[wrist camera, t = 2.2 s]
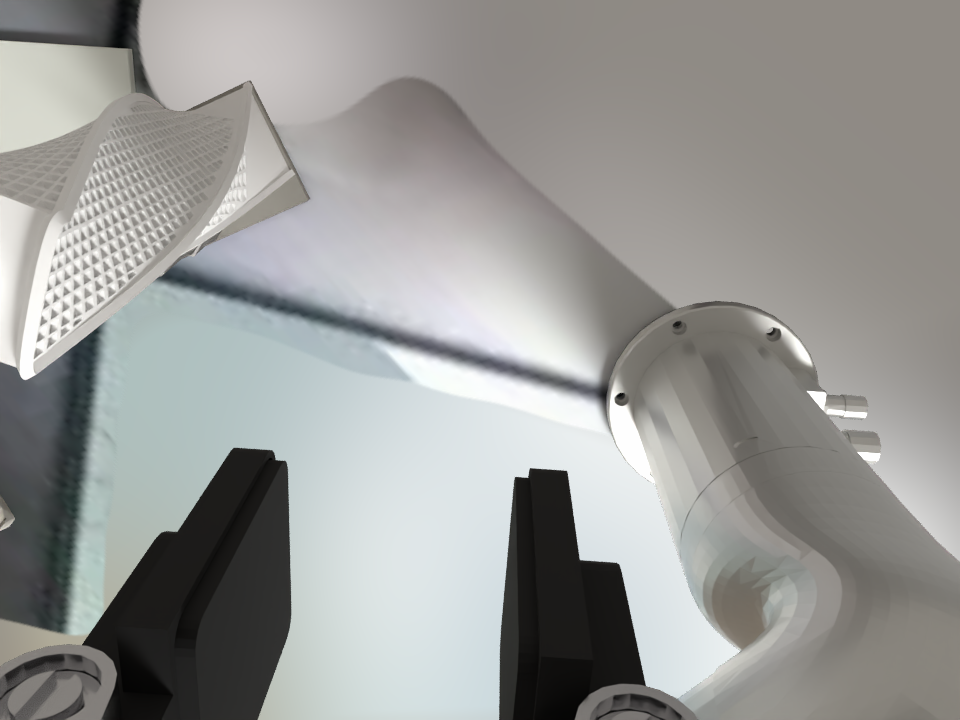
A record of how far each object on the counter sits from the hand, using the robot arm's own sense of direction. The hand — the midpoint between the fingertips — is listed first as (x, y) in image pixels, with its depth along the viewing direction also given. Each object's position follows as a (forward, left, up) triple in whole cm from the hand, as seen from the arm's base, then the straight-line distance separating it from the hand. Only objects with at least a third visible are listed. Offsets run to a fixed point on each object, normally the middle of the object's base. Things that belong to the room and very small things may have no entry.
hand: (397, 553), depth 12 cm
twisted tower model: (+14, 0, -37) cm, 40 cm away
